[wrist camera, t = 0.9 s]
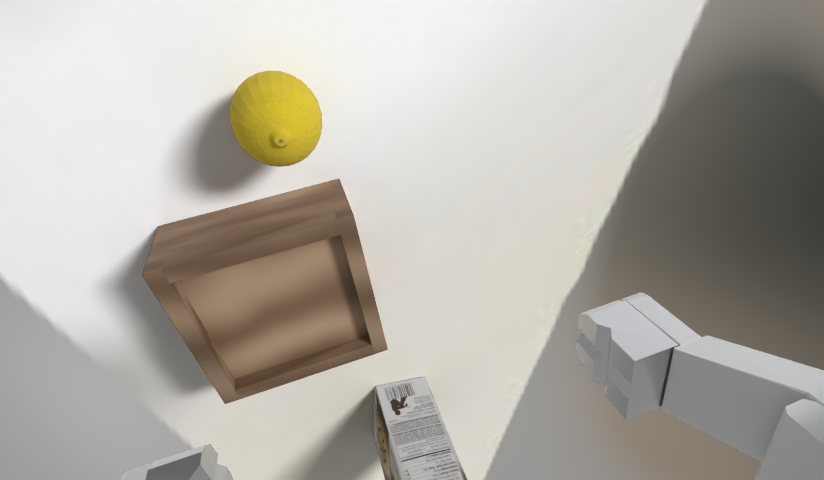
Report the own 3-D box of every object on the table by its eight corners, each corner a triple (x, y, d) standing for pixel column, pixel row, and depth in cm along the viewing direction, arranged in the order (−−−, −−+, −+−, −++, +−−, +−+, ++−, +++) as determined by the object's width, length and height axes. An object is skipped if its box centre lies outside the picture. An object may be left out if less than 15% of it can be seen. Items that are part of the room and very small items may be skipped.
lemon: (244, 145, 32) (243, 194, 26) (221, 65, 29) (213, 98, 23) (320, 132, 33) (337, 176, 27) (306, 54, 30) (321, 82, 24)
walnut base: (157, 226, 33) (141, 275, 28) (339, 178, 36) (353, 215, 31) (228, 349, 41) (225, 404, 36) (371, 304, 44) (387, 349, 39)
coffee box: (420, 422, 57) (471, 561, 44) (371, 434, 55) (409, 582, 42) (426, 374, 52) (485, 514, 39) (372, 385, 50) (415, 535, 37)
